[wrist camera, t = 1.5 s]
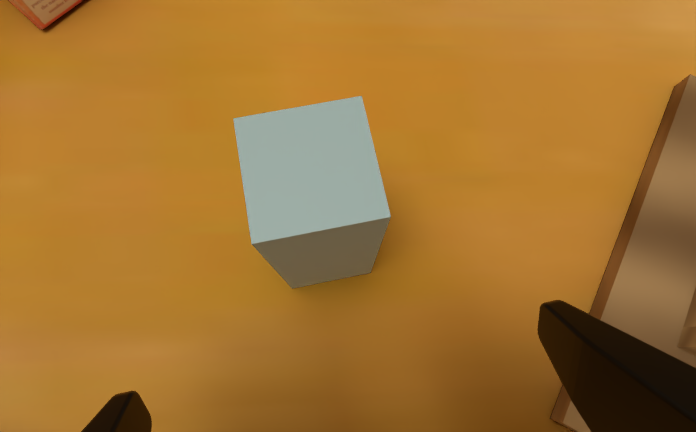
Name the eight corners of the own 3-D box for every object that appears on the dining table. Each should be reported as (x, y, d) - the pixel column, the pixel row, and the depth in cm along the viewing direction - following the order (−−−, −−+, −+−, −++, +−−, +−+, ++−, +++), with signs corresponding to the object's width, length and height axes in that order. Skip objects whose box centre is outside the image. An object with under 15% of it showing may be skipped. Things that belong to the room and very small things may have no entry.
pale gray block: (370, 272, 22) (391, 216, 12) (292, 288, 22) (251, 243, 12) (354, 199, 23) (361, 96, 14) (279, 213, 23) (233, 118, 13)
